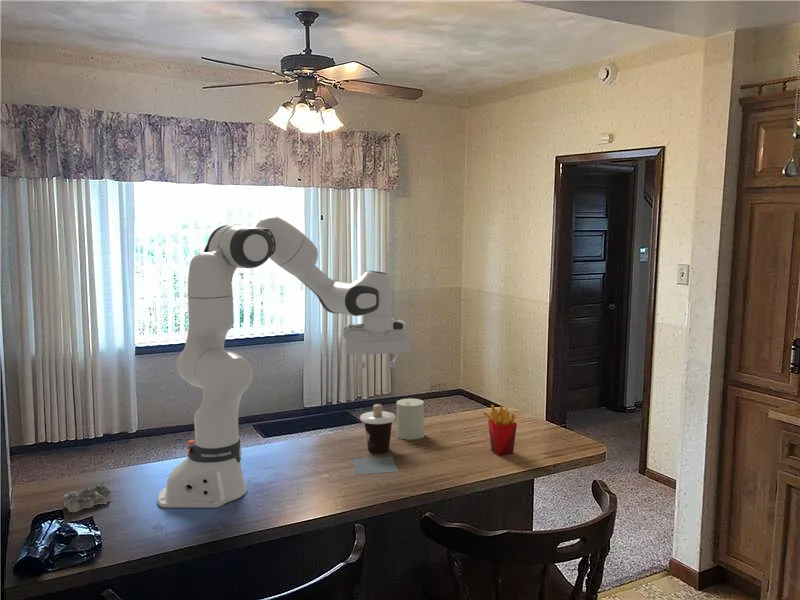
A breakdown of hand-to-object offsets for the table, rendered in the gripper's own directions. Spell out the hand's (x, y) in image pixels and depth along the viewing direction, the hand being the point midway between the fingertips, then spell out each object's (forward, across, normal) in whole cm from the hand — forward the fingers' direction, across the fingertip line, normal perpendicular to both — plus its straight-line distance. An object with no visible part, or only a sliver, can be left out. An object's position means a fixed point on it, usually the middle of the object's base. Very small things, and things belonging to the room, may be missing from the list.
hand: (377, 367), depth 207 cm
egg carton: (+27, -79, -26) cm, 87 cm away
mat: (+26, -3, -14) cm, 30 cm away
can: (+26, +12, +11) cm, 31 cm away
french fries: (+26, +36, -11) cm, 46 cm away
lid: (+16, 0, 0) cm, 16 cm away
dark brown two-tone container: (+26, 0, 0) cm, 26 cm away
